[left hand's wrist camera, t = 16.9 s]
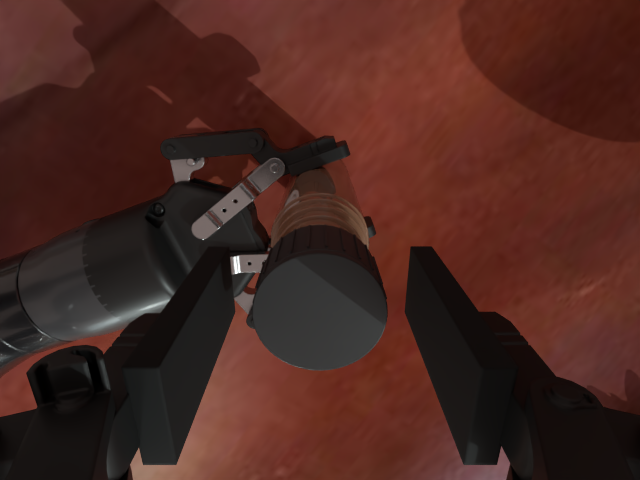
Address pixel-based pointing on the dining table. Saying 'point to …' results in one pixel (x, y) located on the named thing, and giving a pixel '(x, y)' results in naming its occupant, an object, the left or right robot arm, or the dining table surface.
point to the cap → (319, 299)
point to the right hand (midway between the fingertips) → (359, 187)
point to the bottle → (320, 203)
